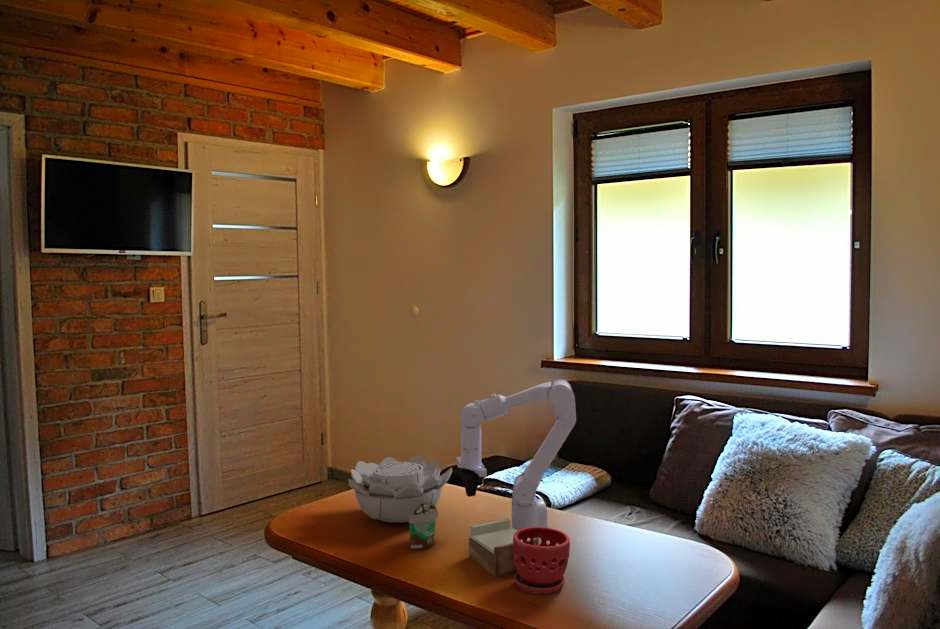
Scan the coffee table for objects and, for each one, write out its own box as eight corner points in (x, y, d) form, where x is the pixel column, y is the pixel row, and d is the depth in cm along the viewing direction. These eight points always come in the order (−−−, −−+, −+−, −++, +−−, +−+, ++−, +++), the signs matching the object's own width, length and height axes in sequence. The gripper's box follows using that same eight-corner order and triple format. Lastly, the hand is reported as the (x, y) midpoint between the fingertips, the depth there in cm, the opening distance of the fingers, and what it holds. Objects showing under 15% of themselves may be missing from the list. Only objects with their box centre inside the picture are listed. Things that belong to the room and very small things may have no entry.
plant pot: (529, 603, 163) (529, 550, 163) (503, 580, 176) (503, 530, 175) (580, 591, 169) (580, 540, 168) (551, 570, 181) (551, 522, 180)
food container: (432, 554, 191) (431, 516, 191) (409, 553, 193) (408, 515, 192) (443, 537, 203) (442, 501, 203) (421, 535, 205) (421, 500, 204)
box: (509, 548, 195) (509, 521, 194) (538, 567, 182) (538, 538, 182) (469, 557, 189) (468, 529, 189) (496, 577, 177) (495, 548, 176)
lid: (509, 528, 194) (509, 518, 194) (535, 544, 183) (535, 533, 183) (469, 537, 189) (469, 526, 189) (493, 554, 178) (493, 542, 177)
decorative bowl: (393, 495, 241) (392, 449, 240) (467, 512, 223) (466, 463, 222) (323, 522, 216) (322, 472, 215) (401, 544, 199) (399, 489, 198)
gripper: (446, 443, 210) (446, 490, 211) (470, 455, 197) (470, 505, 198) (468, 440, 213) (468, 486, 214) (493, 452, 200) (493, 501, 201)
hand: (471, 495), depth 206 cm, fingers closed
